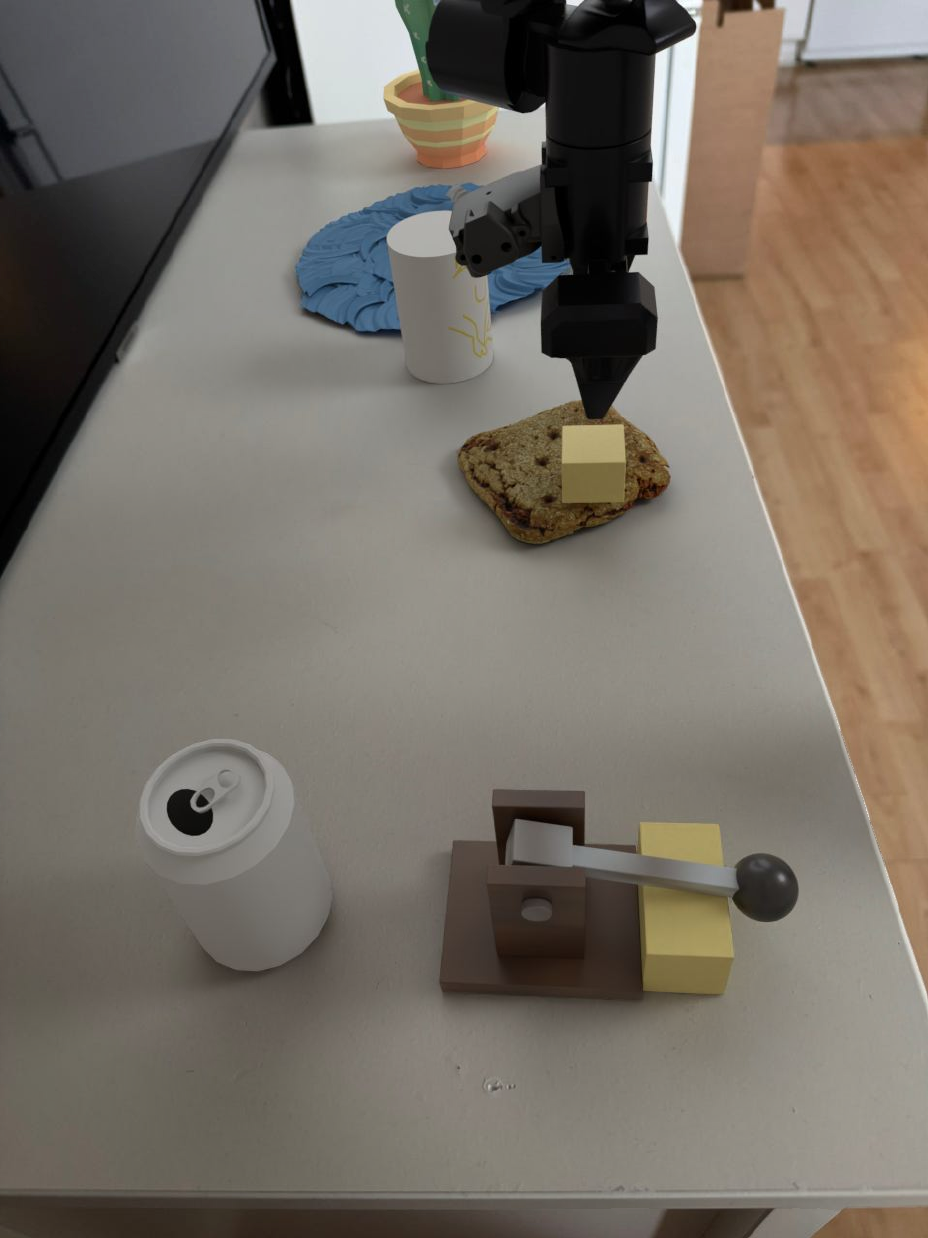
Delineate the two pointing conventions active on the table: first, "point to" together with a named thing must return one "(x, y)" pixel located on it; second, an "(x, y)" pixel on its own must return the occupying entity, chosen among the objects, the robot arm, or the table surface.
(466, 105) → the potted cactus
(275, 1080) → the table surface
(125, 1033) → the table surface
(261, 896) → the can
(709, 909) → the butter
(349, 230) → the decorative plate
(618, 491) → the butter pat
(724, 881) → the blade
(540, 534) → the pastry
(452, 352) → the cup
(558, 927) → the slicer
